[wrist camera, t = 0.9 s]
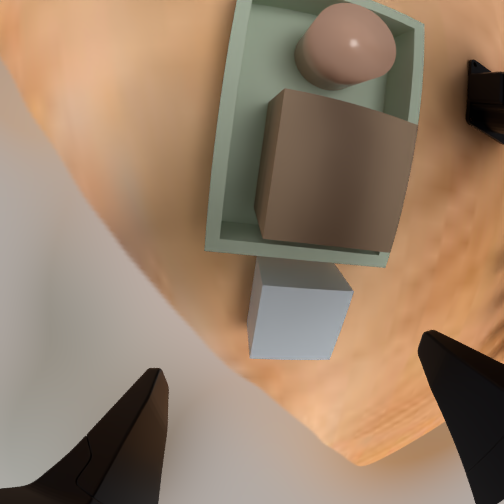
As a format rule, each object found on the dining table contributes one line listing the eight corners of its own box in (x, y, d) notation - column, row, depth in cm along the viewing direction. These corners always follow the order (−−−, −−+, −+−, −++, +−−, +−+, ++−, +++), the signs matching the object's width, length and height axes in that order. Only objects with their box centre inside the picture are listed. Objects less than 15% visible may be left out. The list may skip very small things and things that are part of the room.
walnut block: (368, 124, 17) (418, 125, 12) (350, 219, 20) (390, 252, 14) (268, 102, 17) (284, 88, 11) (253, 207, 19) (262, 238, 14)
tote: (395, 36, 15) (424, 24, 11) (362, 245, 21) (385, 267, 18) (240, -3, 14) (243, -30, 10) (209, 228, 20) (204, 250, 17)
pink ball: (362, 40, 15) (397, 20, 10) (356, 98, 17) (393, 90, 12) (298, 23, 14) (318, -8, 10) (290, 82, 16) (309, 65, 11)
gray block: (333, 262, 22) (353, 291, 18) (315, 324, 24) (329, 359, 20) (256, 254, 21) (262, 285, 17) (246, 321, 24) (249, 358, 20)
